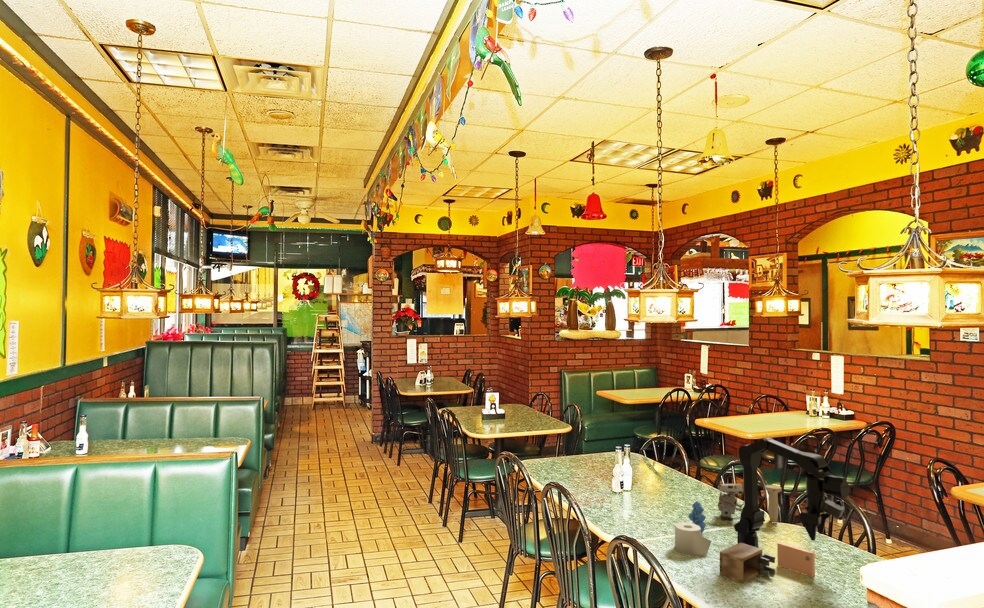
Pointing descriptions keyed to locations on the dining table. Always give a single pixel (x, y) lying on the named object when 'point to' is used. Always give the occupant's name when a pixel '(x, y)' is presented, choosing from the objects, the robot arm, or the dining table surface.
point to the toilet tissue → (690, 539)
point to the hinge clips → (765, 565)
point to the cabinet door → (796, 559)
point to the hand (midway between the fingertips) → (817, 537)
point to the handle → (773, 501)
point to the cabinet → (739, 562)
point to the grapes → (697, 515)
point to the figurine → (729, 499)
